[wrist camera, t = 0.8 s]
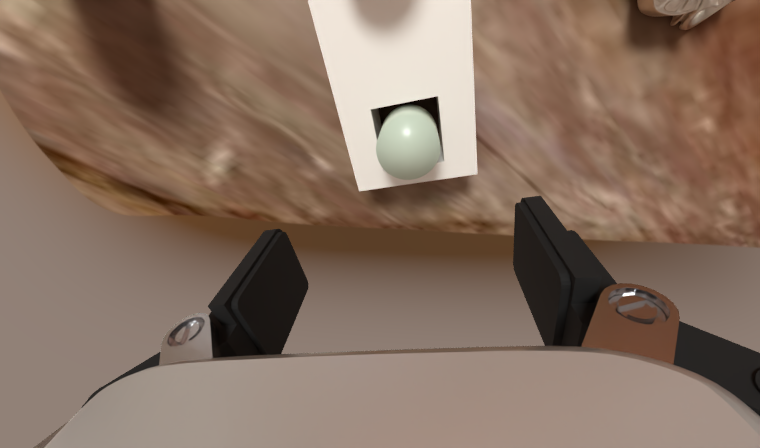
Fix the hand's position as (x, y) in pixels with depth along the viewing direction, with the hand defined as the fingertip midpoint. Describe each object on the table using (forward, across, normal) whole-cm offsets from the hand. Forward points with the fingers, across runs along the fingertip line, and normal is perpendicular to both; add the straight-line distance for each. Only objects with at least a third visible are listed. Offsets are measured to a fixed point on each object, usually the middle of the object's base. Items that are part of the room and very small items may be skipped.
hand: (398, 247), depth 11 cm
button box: (+18, 0, -6) cm, 19 cm away
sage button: (+15, 0, 0) cm, 15 cm away
